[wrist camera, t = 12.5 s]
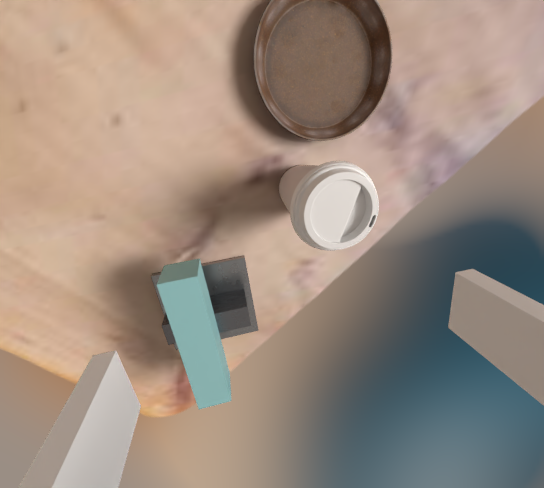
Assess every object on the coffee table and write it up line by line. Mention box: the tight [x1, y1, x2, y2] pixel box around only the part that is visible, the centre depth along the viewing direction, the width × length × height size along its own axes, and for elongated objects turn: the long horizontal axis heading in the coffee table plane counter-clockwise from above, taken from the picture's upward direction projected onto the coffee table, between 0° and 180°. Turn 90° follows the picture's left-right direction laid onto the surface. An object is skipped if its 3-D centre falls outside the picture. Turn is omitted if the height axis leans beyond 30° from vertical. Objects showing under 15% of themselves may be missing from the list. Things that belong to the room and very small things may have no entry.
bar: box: [157, 259, 231, 409], centre depth 37 cm, size 4×20×5 cm, turn 8°
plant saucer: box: [254, 0, 392, 141], centre depth 35 cm, size 18×18×3 cm
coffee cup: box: [279, 161, 379, 250], centre depth 34 cm, size 10×10×15 cm
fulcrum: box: [151, 256, 258, 350], centre depth 43 cm, size 14×14×6 cm
